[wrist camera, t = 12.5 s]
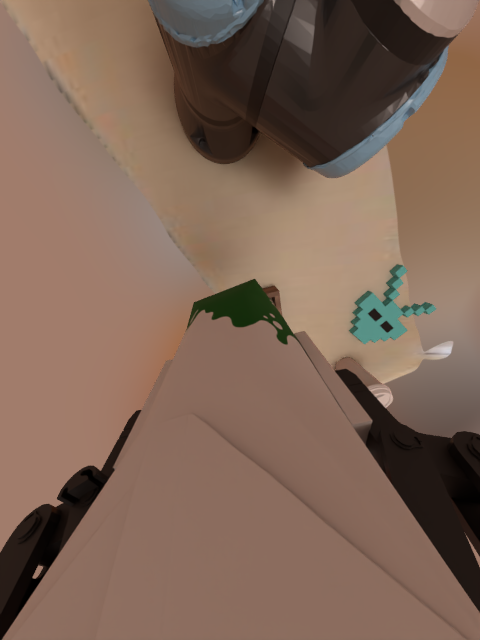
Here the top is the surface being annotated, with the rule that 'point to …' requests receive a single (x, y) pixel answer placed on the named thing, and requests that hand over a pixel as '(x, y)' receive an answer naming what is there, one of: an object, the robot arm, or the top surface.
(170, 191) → the top surface
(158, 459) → the soya milk
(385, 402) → the coffee cup
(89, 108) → the top surface
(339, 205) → the top surface
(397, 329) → the alien figure
